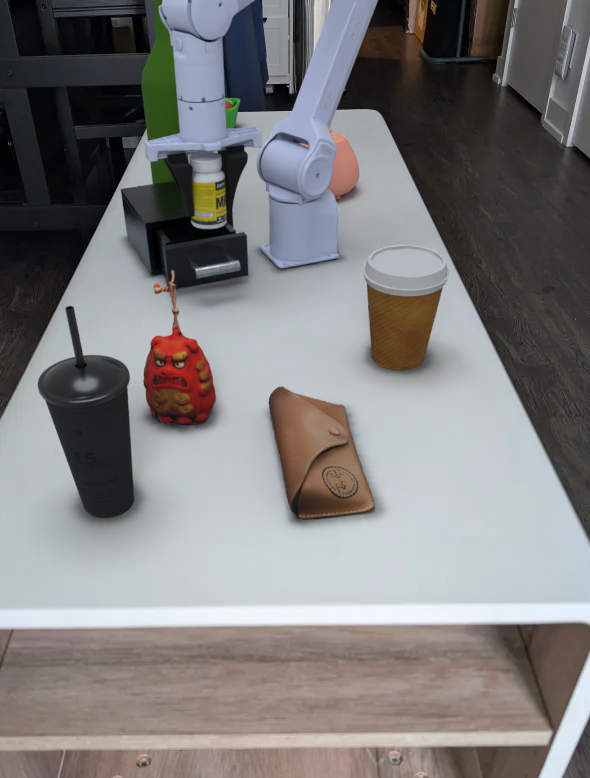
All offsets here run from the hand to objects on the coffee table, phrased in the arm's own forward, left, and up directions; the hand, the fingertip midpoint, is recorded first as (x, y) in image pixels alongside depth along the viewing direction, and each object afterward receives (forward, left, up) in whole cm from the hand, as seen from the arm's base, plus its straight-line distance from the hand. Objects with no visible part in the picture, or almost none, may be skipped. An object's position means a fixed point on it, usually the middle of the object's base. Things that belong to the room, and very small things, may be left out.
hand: (208, 211), depth 104 cm
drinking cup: (+24, +40, -11) cm, 48 cm away
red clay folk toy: (+13, +28, -11) cm, 33 cm away
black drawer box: (+1, -14, -10) cm, 17 cm away
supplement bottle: (0, 0, -2) cm, 2 cm away
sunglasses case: (+3, +42, -11) cm, 43 cm away
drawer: (+1, -4, -10) cm, 10 cm away
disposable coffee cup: (-14, +27, -11) cm, 32 cm away
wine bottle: (-4, -29, -11) cm, 31 cm away
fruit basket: (-23, -71, -11) cm, 75 cm away
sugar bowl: (-28, -28, -11) cm, 41 cm away
